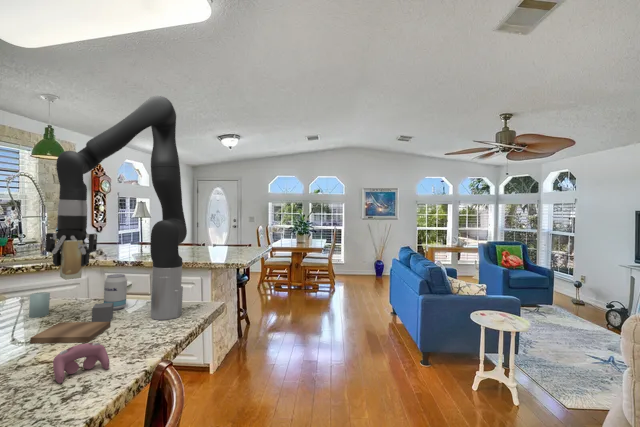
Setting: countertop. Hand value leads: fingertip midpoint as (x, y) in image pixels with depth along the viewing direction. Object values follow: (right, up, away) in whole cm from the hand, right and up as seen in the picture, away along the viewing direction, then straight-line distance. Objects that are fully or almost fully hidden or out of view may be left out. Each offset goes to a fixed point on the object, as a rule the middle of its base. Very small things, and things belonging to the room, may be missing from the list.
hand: (71, 265), depth 102 cm
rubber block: (+9, -18, +1) cm, 20 cm away
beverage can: (+5, -18, +14) cm, 23 cm away
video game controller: (+27, -19, -32) cm, 46 cm away
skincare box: (0, -4, 0) cm, 4 cm away
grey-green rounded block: (-13, -17, +3) cm, 22 cm away
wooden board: (+9, -18, -11) cm, 23 cm away
